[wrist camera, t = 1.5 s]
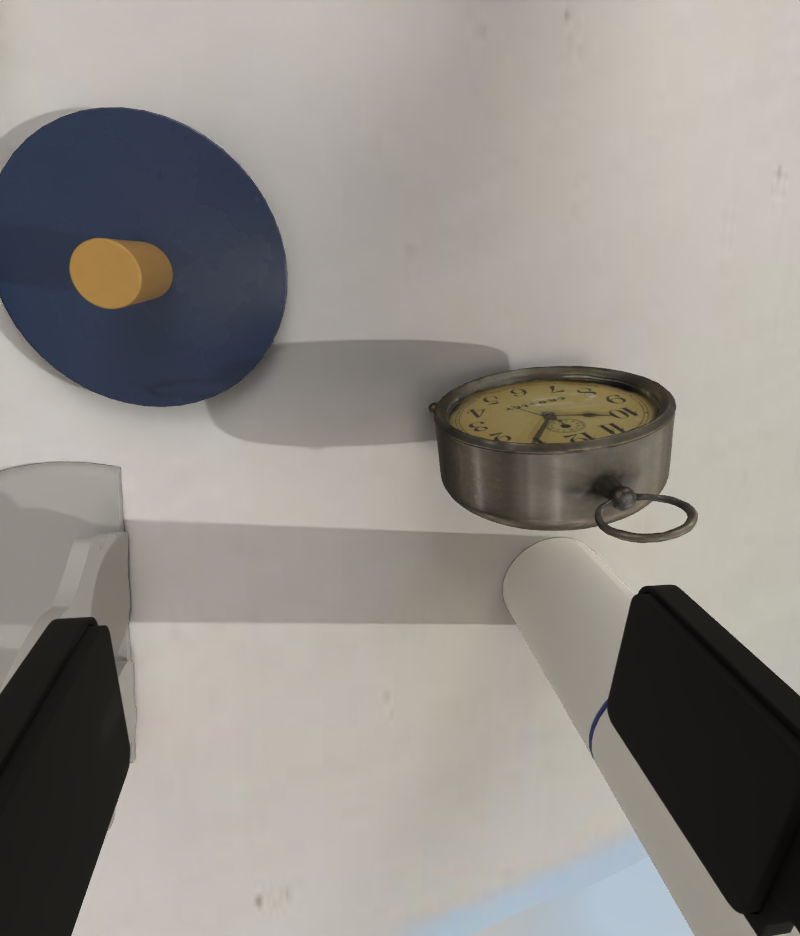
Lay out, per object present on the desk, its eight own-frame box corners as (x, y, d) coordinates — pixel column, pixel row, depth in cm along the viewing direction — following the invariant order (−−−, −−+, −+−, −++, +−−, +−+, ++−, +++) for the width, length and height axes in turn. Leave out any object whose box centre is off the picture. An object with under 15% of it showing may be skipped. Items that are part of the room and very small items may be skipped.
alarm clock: (589, 351, 32) (833, 432, 17) (589, 436, 34) (807, 574, 20) (410, 382, 31) (506, 497, 16) (421, 468, 33) (515, 640, 18)
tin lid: (-49, 126, 24) (-172, 81, 18) (259, 101, 25) (244, 51, 19) (55, 418, 29) (-12, 462, 23) (307, 383, 30) (308, 415, 24)
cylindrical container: (527, 527, 36) (914, 1001, 13) (616, 550, 38) (1094, 1001, 15) (487, 615, 38) (760, 1158, 15) (573, 633, 40) (934, 1141, 17)
